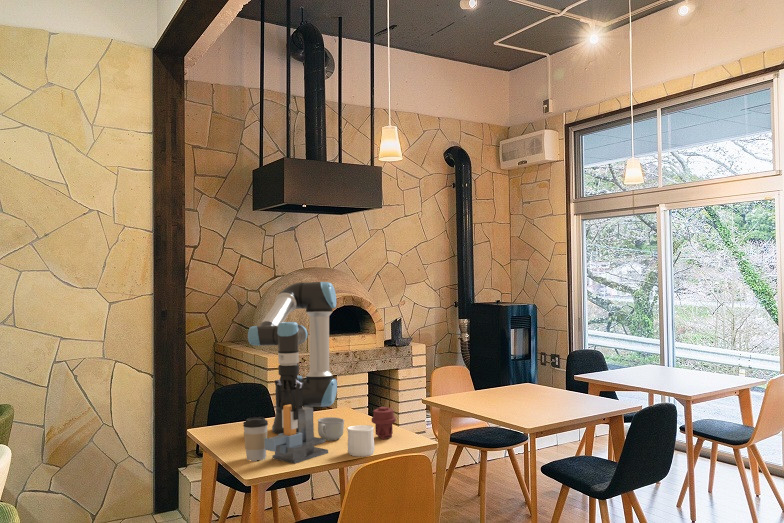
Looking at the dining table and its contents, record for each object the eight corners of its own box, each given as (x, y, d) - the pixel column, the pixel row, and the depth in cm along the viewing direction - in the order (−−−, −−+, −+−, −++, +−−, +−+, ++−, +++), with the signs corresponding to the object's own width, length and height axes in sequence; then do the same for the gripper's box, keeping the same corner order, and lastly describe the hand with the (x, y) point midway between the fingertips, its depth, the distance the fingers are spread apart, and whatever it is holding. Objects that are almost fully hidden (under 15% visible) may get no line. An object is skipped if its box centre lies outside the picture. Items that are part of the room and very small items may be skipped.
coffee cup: (245, 455, 241) (244, 415, 241) (270, 454, 241) (269, 414, 242) (242, 462, 232) (241, 421, 232) (267, 461, 232) (266, 420, 233)
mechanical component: (398, 435, 267) (393, 441, 257) (375, 434, 269) (369, 440, 259) (397, 405, 267) (392, 410, 257) (374, 405, 269) (368, 409, 259)
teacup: (330, 434, 271) (329, 415, 271) (349, 437, 264) (349, 418, 264) (307, 441, 259) (307, 422, 259) (327, 445, 253) (327, 425, 253)
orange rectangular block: (290, 436, 237) (289, 404, 238) (296, 437, 235) (295, 405, 236) (283, 438, 235) (283, 405, 235) (289, 439, 233) (289, 406, 233)
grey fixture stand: (272, 458, 236) (271, 411, 236) (306, 448, 249) (305, 404, 250) (294, 463, 228) (293, 415, 229) (328, 452, 242) (327, 407, 242)
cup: (377, 455, 237) (376, 429, 237) (351, 458, 234) (350, 431, 234) (371, 449, 246) (370, 423, 246) (345, 451, 243) (345, 426, 243)
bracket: (263, 455, 229) (263, 438, 229) (291, 447, 239) (290, 430, 240) (275, 458, 225) (274, 440, 226) (302, 450, 235) (302, 433, 236)
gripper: (265, 363, 238) (266, 426, 238) (296, 366, 228) (298, 432, 227) (281, 361, 244) (282, 422, 244) (312, 364, 233) (313, 428, 233)
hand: (290, 427), depth 235 cm, fingers open, 4 cm apart
